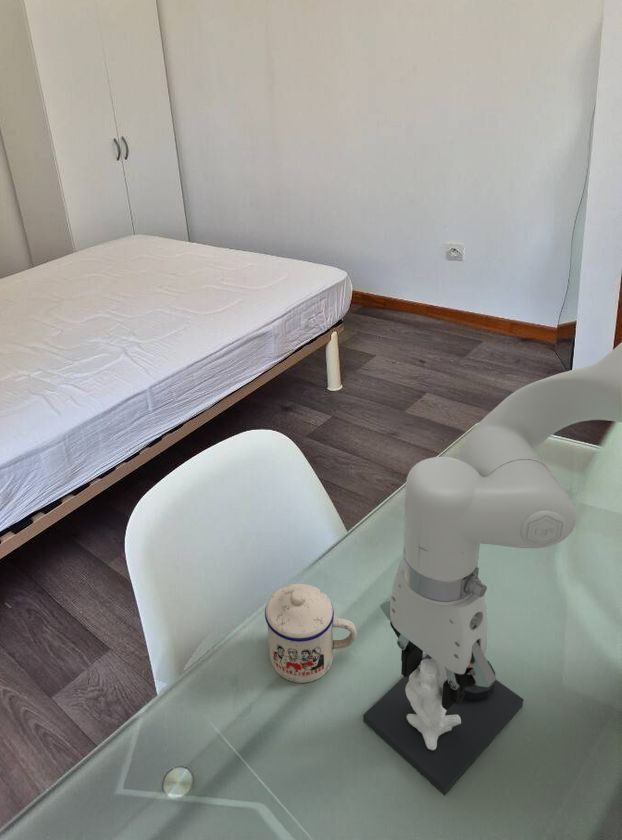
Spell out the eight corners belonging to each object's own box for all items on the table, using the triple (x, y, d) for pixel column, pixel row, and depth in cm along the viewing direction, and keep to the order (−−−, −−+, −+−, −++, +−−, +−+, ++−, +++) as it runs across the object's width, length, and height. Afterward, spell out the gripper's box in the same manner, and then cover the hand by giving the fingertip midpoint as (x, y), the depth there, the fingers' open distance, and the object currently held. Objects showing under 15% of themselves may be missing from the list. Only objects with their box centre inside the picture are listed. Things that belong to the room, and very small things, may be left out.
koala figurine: (445, 767, 78) (450, 696, 73) (390, 738, 82) (391, 668, 76) (469, 708, 84) (476, 639, 79) (417, 683, 88) (420, 616, 83)
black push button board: (443, 645, 94) (444, 630, 93) (524, 704, 86) (527, 688, 84) (363, 722, 85) (363, 706, 84) (444, 796, 77) (446, 779, 75)
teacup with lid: (264, 683, 91) (259, 620, 86) (272, 627, 99) (267, 566, 94) (356, 690, 89) (356, 626, 84) (356, 632, 97) (356, 571, 92)
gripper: (534, 593, 68) (516, 714, 76) (397, 512, 80) (394, 623, 88) (491, 636, 64) (476, 759, 72) (354, 544, 76) (354, 658, 84)
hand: (431, 683), depth 80 cm, fingers closed on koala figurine, 5 cm apart
